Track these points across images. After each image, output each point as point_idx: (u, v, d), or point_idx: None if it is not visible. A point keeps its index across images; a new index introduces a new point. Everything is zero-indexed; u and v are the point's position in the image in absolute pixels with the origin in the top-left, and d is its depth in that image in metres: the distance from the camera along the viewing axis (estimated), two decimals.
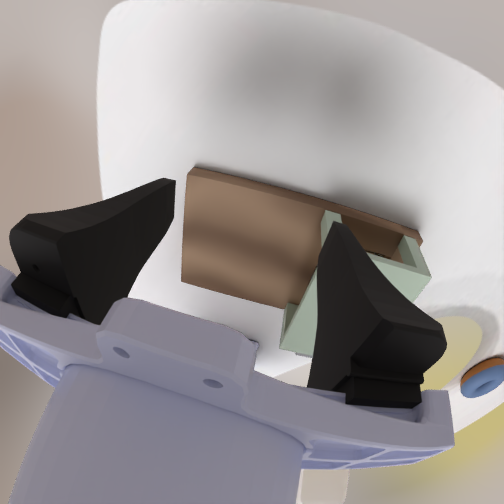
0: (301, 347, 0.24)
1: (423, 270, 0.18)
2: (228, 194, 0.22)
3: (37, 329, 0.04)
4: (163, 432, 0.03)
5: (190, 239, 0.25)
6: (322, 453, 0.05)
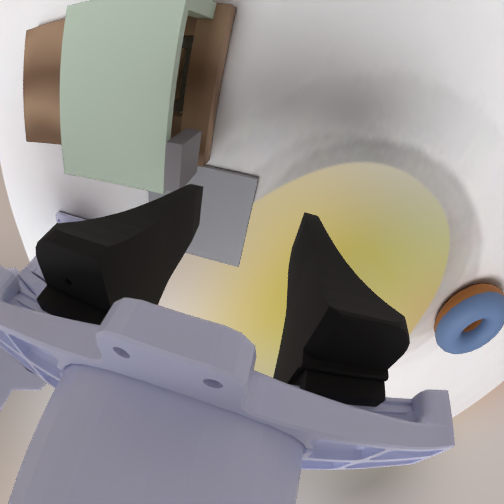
0: (81, 164, 0.16)
1: None
2: (46, 32, 0.13)
3: (37, 329, 0.04)
4: (162, 432, 0.03)
5: (27, 88, 0.17)
6: (322, 453, 0.05)
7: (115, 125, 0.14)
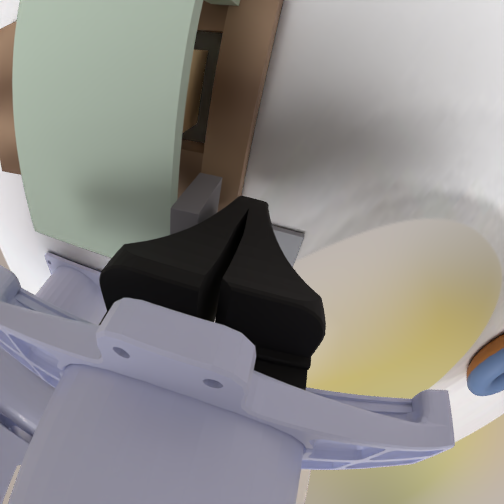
0: (52, 223, 0.11)
1: None
2: None
3: (37, 329, 0.04)
4: (163, 432, 0.03)
5: None
6: (322, 453, 0.05)
7: (91, 176, 0.09)
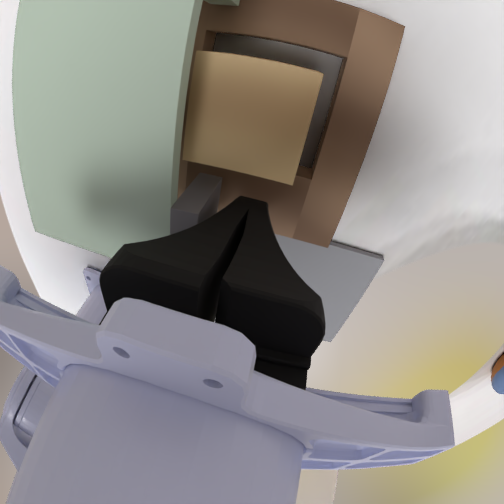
0: (52, 223, 0.11)
1: None
2: None
3: (37, 329, 0.04)
4: (163, 432, 0.03)
5: None
6: (322, 453, 0.05)
7: (91, 176, 0.09)
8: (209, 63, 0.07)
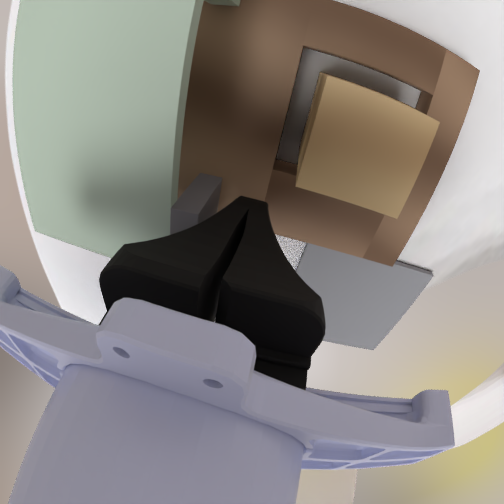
0: (52, 223, 0.11)
1: None
2: None
3: (37, 329, 0.04)
4: (163, 432, 0.03)
5: None
6: (322, 453, 0.05)
7: (91, 176, 0.09)
8: (340, 91, 0.07)
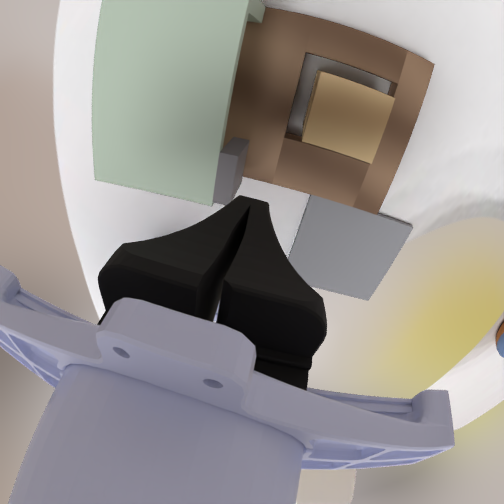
0: (115, 170, 0.15)
1: None
2: None
3: (37, 329, 0.04)
4: (163, 431, 0.03)
5: None
6: (322, 453, 0.05)
7: (160, 131, 0.14)
8: (329, 81, 0.12)
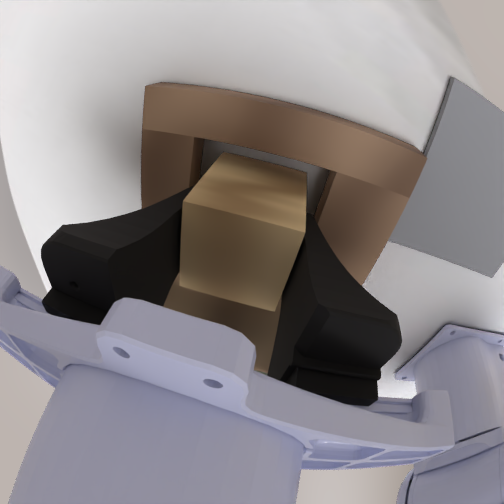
0: None
1: None
2: None
3: (37, 329, 0.04)
4: (162, 431, 0.03)
5: None
6: (322, 453, 0.05)
7: None
8: (188, 280, 0.11)
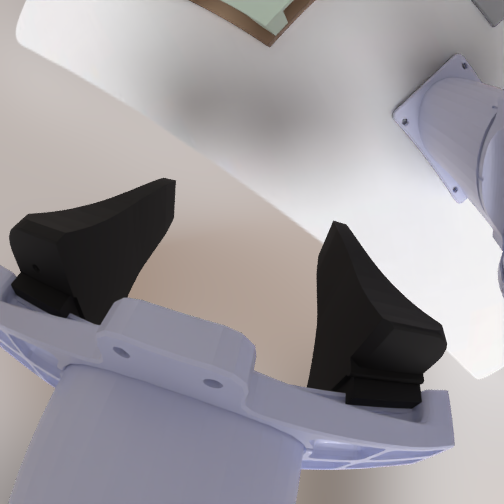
0: None
1: None
2: None
3: (37, 329, 0.04)
4: (163, 432, 0.03)
5: None
6: (322, 453, 0.05)
7: None
8: None
